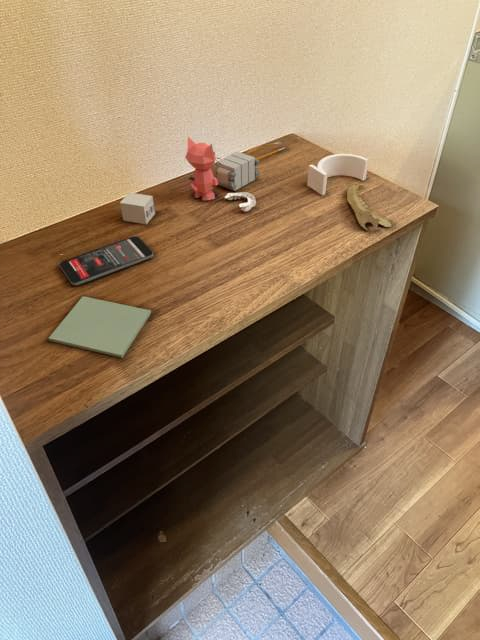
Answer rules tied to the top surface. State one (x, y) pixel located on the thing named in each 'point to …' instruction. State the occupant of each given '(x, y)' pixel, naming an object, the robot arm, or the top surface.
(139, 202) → the block
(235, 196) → the dentures
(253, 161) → the electrical component
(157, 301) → the top surface
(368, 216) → the mandible
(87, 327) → the desk mat
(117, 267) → the smartphone
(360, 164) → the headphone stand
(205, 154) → the cat figurine
